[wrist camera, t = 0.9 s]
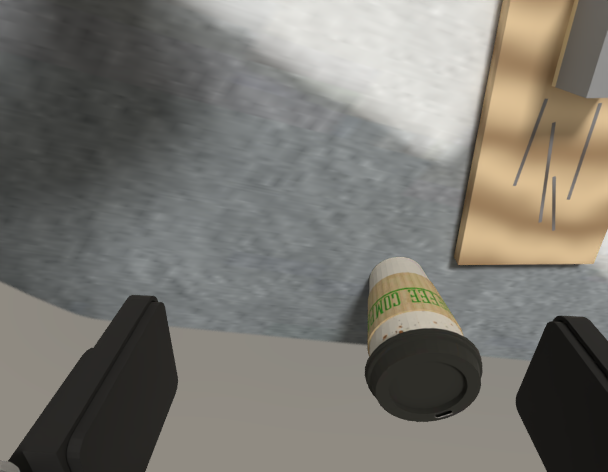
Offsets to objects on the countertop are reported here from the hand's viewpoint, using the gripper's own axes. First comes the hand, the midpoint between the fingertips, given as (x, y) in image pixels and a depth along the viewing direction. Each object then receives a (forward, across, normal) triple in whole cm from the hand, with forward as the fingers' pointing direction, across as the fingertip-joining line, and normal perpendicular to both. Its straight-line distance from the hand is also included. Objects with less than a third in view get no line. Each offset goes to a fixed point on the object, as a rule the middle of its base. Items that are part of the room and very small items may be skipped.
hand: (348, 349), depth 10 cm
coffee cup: (+31, -9, +19) cm, 37 cm away
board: (+30, -21, +2) cm, 37 cm away
